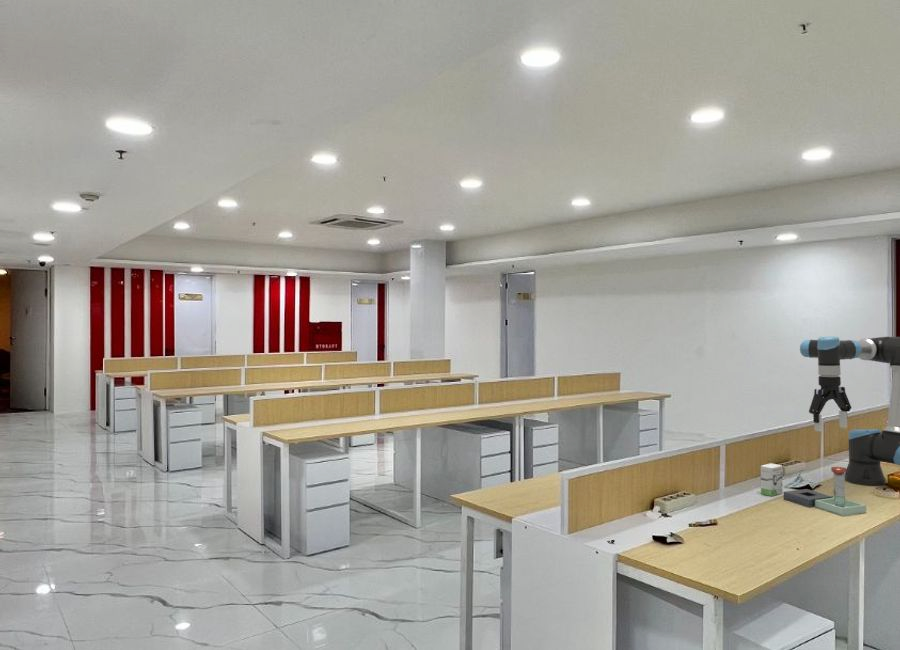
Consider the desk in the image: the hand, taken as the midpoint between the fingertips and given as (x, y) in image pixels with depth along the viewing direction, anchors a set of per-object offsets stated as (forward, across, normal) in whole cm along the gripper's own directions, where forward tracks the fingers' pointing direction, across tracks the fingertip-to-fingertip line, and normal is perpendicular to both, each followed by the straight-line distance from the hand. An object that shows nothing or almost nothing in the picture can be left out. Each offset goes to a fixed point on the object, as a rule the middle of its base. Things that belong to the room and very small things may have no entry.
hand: (830, 429), depth 250 cm
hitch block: (+28, +11, -2) cm, 30 cm away
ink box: (+28, +14, -16) cm, 36 cm away
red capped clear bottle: (+27, +9, +10) cm, 31 cm away
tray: (+28, +9, +10) cm, 31 cm away
